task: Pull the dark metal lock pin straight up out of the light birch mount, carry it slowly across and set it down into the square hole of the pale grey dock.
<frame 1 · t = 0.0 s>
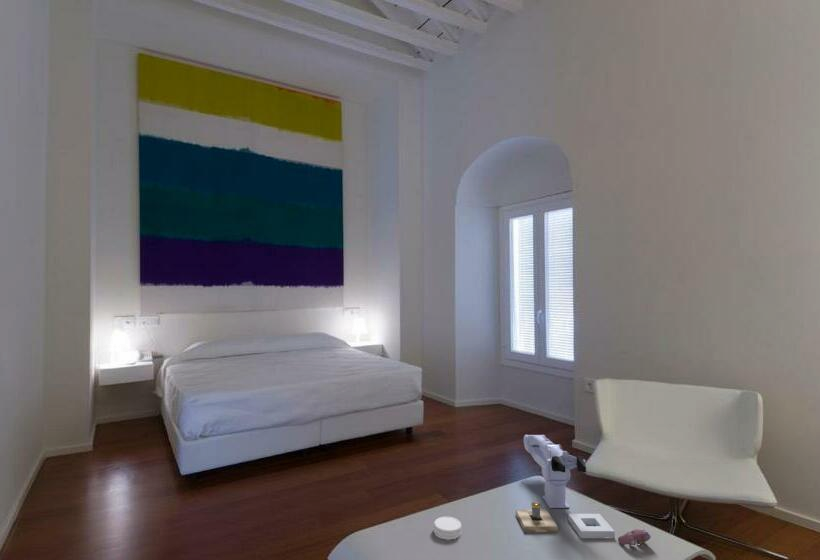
hand: (574, 469, 161), 22 cm above the table, tool horizontal, fingers open, 7 cm apart
dock: (590, 528, 161), on the table
pin mount: (535, 523, 164), on the table
white round disc: (447, 533, 158), on the table
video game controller: (634, 545, 151), on the table
lock pin: (536, 513, 165), in the pin mount
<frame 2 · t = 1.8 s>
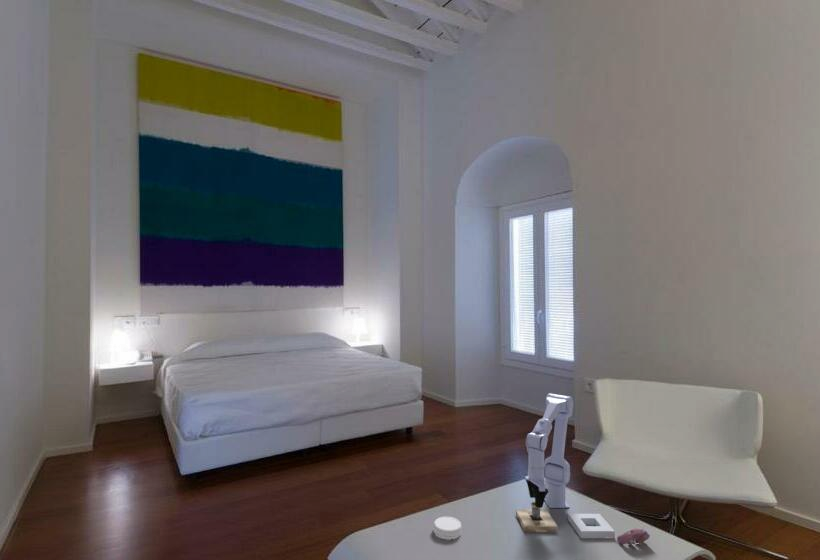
hand: (536, 502, 165), 8 cm above the table, tool pointing down, fingers open, 7 cm apart
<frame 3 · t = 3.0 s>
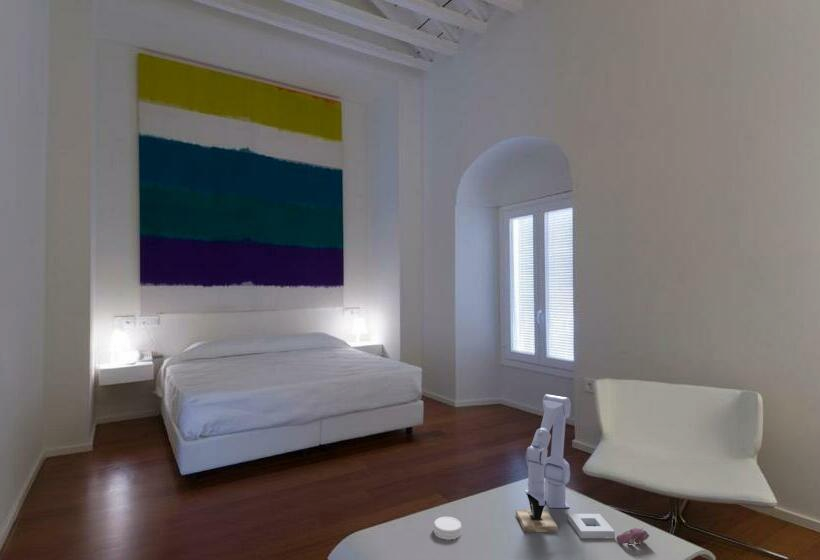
hand: (536, 515, 165), 3 cm above the table, tool pointing down, fingers closed on lock pin, 3 cm apart
lock pin: (536, 513, 165), in the pin mount, touching gripper
everything else where it was.
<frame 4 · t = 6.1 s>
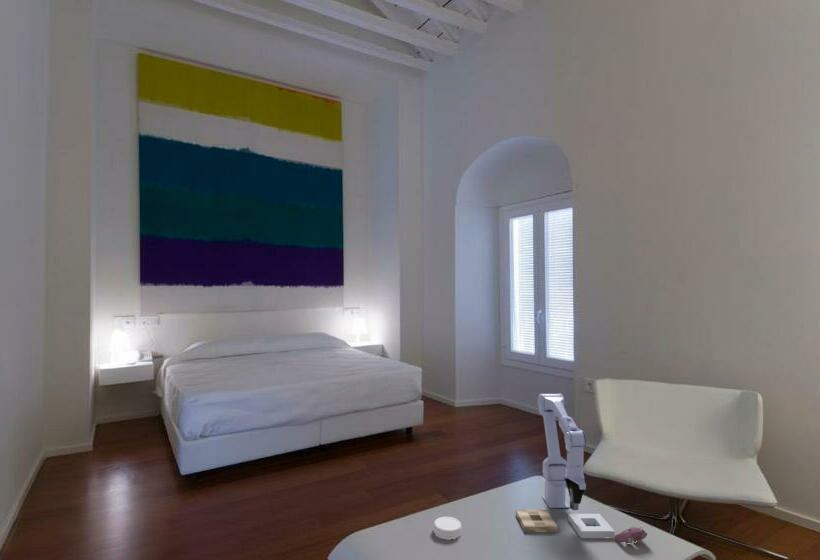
hand: (575, 500, 162), 10 cm above the table, tool pointing down, fingers closed on lock pin, 3 cm apart
lock pin: (574, 498, 162), point 10 cm above the table, touching gripper
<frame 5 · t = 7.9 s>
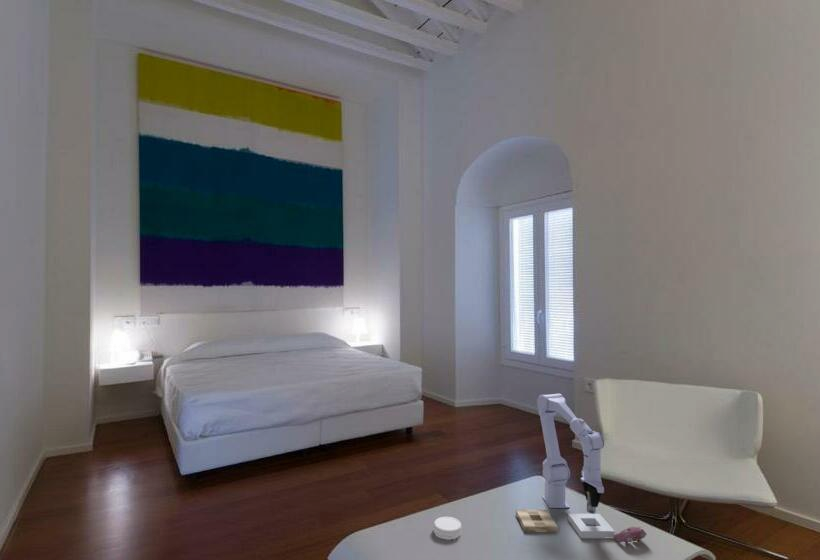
hand: (592, 503, 161), 9 cm above the table, tool pointing down, fingers closed on lock pin, 3 cm apart
lock pin: (591, 502, 161), point 10 cm above the table, touching gripper
when the fingers open (4 cm above the table, at t = 9.4 s): lock pin stays where it is, resting in dock.
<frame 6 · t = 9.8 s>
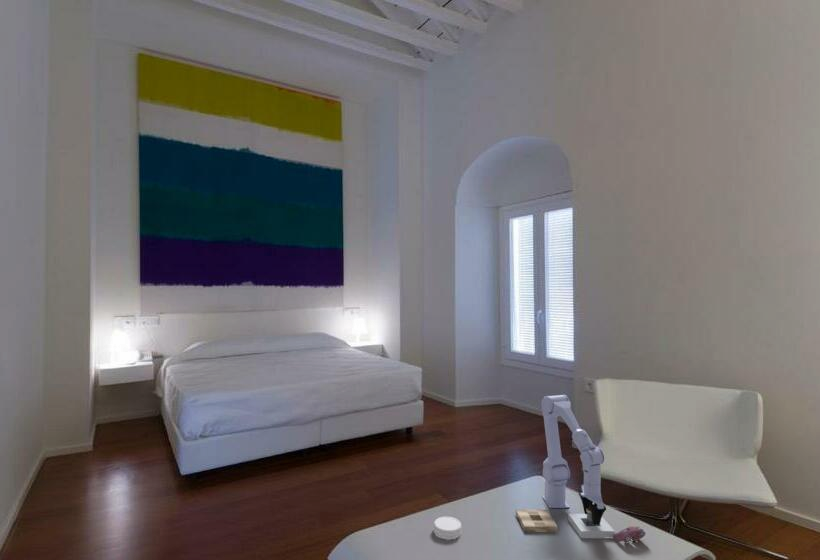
hand: (592, 519, 161), 4 cm above the table, tool pointing down, fingers open, 7 cm apart
lock pin: (591, 519, 161), in the dock
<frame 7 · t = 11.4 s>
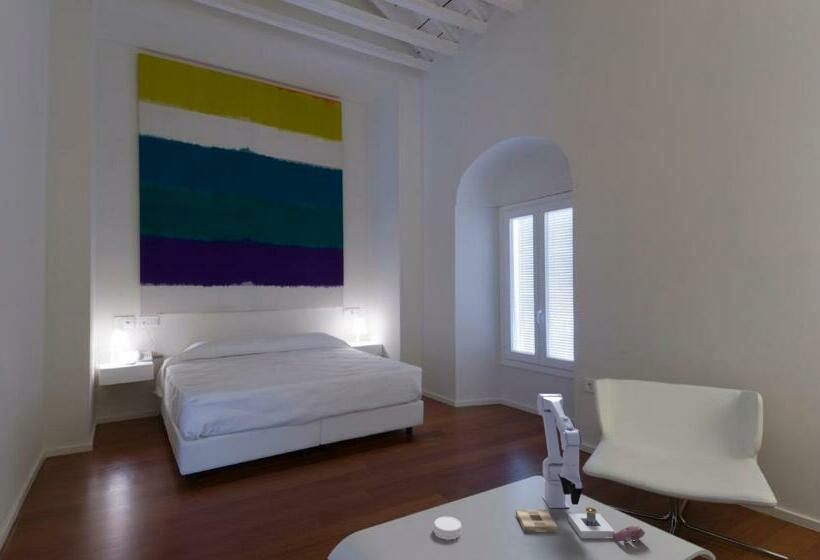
hand: (570, 499, 164), 9 cm above the table, tool pointing down, fingers open, 7 cm apart
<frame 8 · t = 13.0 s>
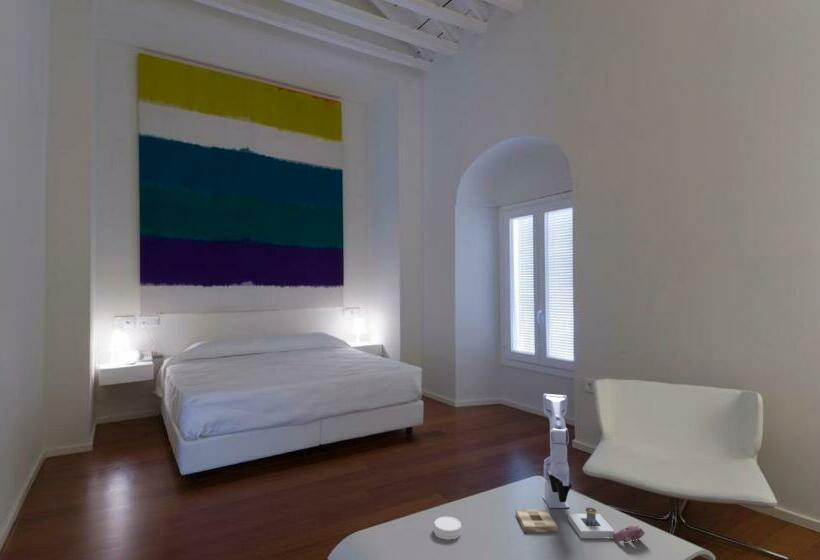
hand: (558, 496, 166), 9 cm above the table, tool pointing down, fingers open, 7 cm apart
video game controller: (628, 542, 153), on the table, touching dock
everything else where it was.
at the end: lock pin 0.2 cm off-centre on the dock, point 3.5 cm above the dock's base; lock pin tilted 1°; the gripper is holding nothing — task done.
